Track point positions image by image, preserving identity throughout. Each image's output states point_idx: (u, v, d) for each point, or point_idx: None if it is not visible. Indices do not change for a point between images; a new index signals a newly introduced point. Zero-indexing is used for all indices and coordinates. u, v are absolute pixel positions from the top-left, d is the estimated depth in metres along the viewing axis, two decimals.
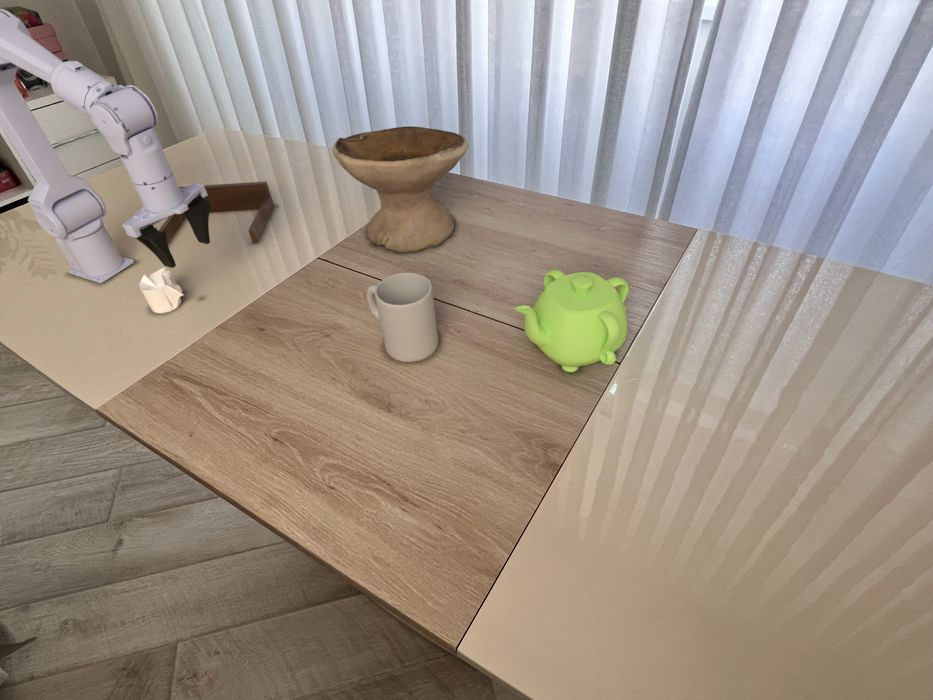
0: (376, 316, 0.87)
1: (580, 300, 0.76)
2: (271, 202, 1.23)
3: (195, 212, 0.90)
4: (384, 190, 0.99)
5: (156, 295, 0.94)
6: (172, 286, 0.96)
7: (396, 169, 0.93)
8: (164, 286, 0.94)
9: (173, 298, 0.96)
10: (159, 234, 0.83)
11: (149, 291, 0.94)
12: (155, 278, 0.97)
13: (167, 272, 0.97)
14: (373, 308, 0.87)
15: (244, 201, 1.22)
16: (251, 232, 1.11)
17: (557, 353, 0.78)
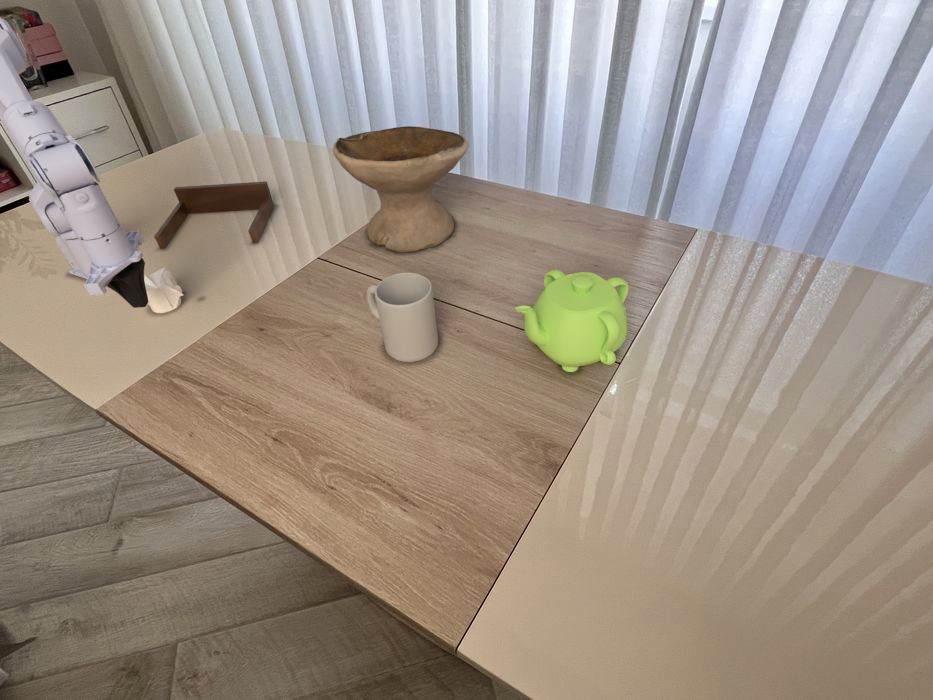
0: (376, 316, 0.87)
1: (580, 300, 0.76)
2: (271, 202, 1.23)
3: None
4: (384, 190, 0.99)
5: (156, 295, 0.94)
6: (172, 286, 0.96)
7: (396, 169, 0.93)
8: (164, 286, 0.94)
9: (173, 298, 0.96)
10: (134, 272, 0.82)
11: (149, 291, 0.94)
12: (155, 278, 0.97)
13: (167, 272, 0.97)
14: (373, 308, 0.87)
15: (244, 201, 1.22)
16: (251, 232, 1.11)
17: (557, 353, 0.78)
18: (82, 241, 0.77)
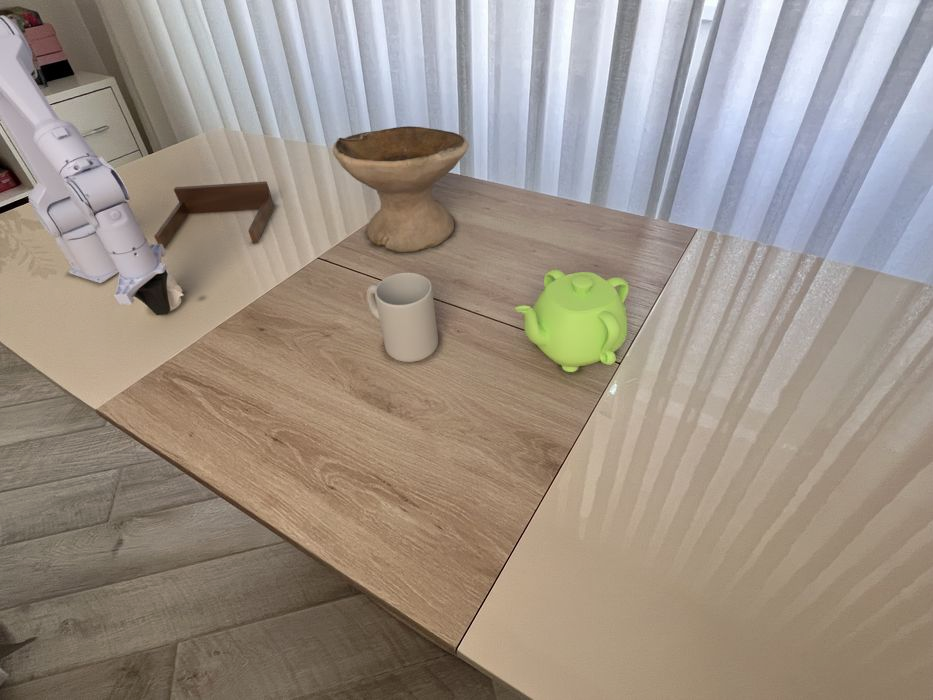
0: (376, 316, 0.87)
1: (580, 300, 0.76)
2: (271, 202, 1.23)
3: None
4: (384, 190, 0.99)
5: None
6: (172, 286, 0.96)
7: (396, 169, 0.93)
8: None
9: (173, 298, 0.96)
10: (159, 283, 0.89)
11: None
12: None
13: (167, 272, 0.97)
14: (373, 308, 0.87)
15: (244, 201, 1.22)
16: (251, 232, 1.11)
17: (557, 353, 0.78)
18: (112, 255, 0.84)
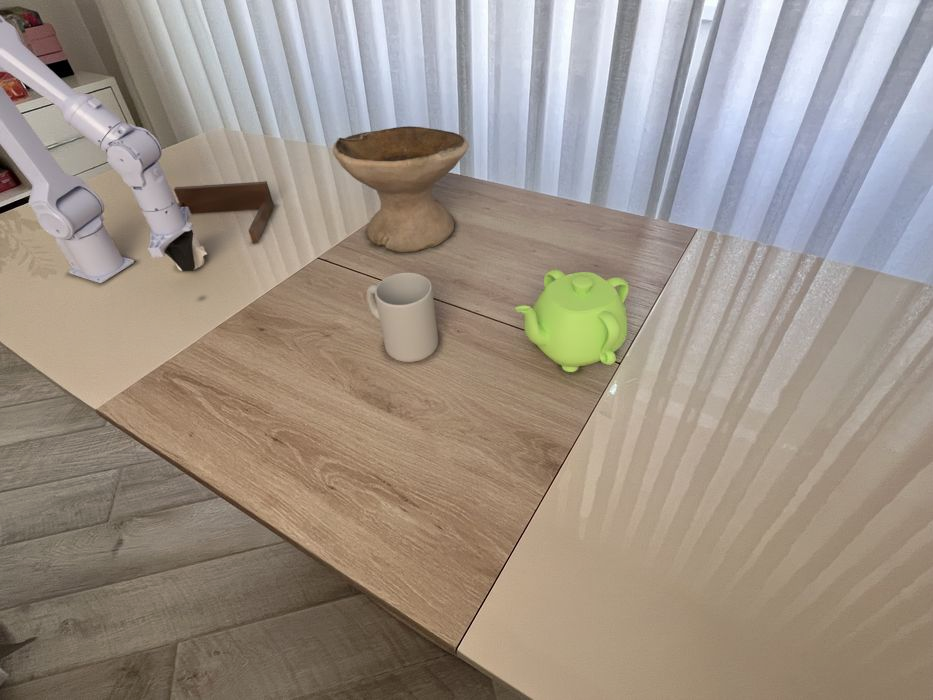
0: (376, 316, 0.87)
1: (580, 300, 0.76)
2: (271, 202, 1.23)
3: None
4: (384, 190, 0.99)
5: None
6: (196, 246, 1.06)
7: (396, 169, 0.93)
8: None
9: (197, 257, 1.05)
10: (186, 240, 0.99)
11: None
12: None
13: None
14: (373, 308, 0.87)
15: (244, 201, 1.22)
16: (251, 232, 1.11)
17: (557, 353, 0.78)
18: (146, 212, 0.93)
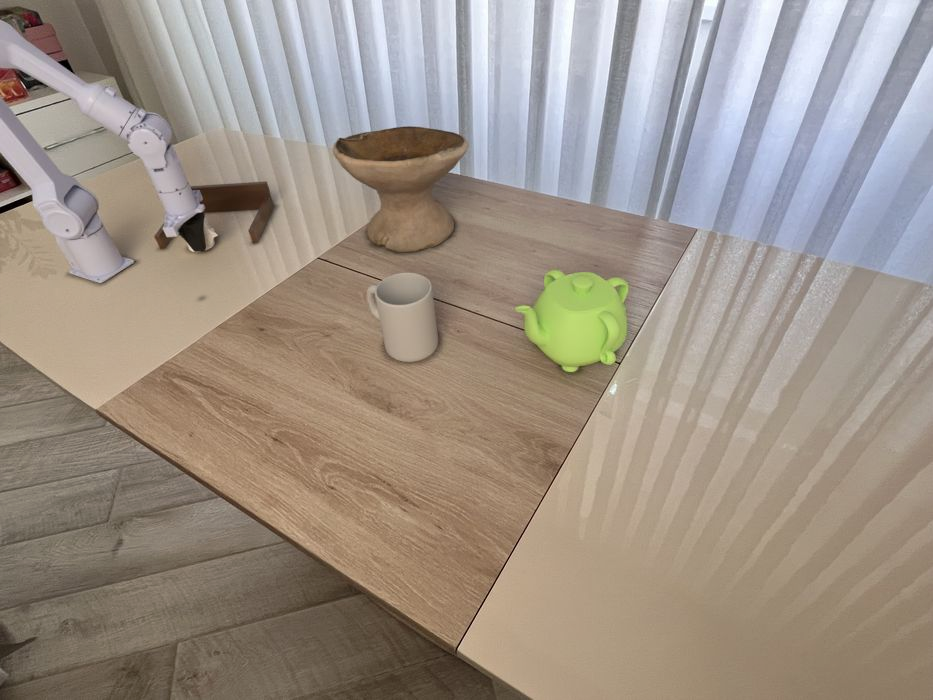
0: (376, 316, 0.87)
1: (580, 300, 0.76)
2: (271, 202, 1.23)
3: None
4: (384, 190, 0.99)
5: None
6: (207, 228, 1.11)
7: (396, 169, 0.93)
8: None
9: (208, 238, 1.10)
10: (198, 221, 1.04)
11: None
12: None
13: None
14: (373, 308, 0.87)
15: (244, 201, 1.22)
16: (251, 232, 1.11)
17: (557, 353, 0.78)
18: (161, 194, 0.98)
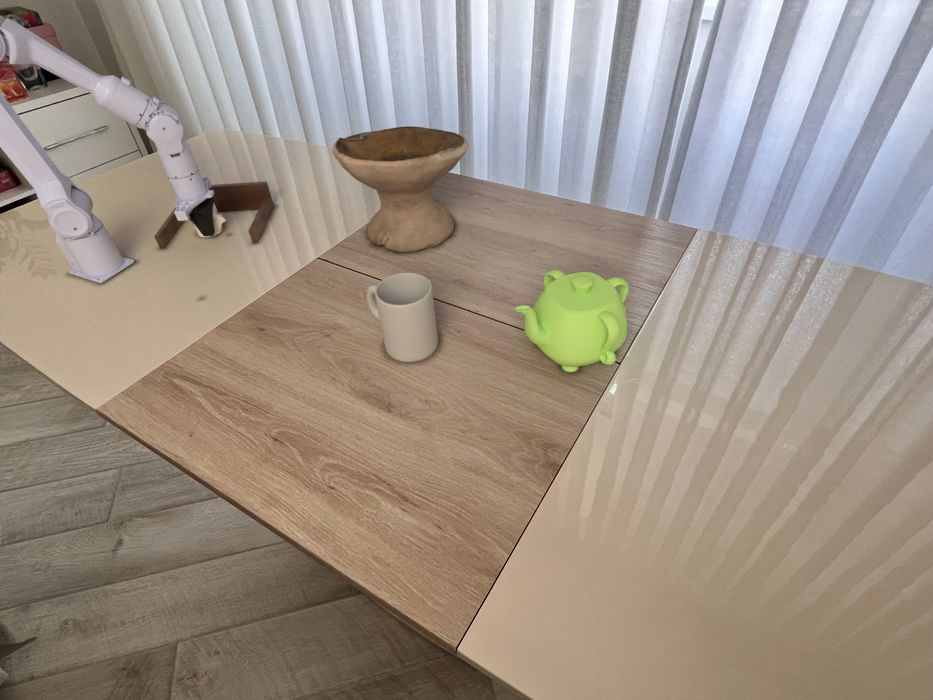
0: (376, 316, 0.87)
1: (580, 300, 0.76)
2: (271, 202, 1.23)
3: None
4: (384, 190, 0.99)
5: None
6: (216, 214, 1.15)
7: (396, 169, 0.93)
8: None
9: (217, 224, 1.15)
10: (208, 206, 1.08)
11: None
12: None
13: None
14: (373, 308, 0.87)
15: (244, 201, 1.22)
16: (251, 232, 1.11)
17: (557, 353, 0.78)
18: (172, 179, 1.03)
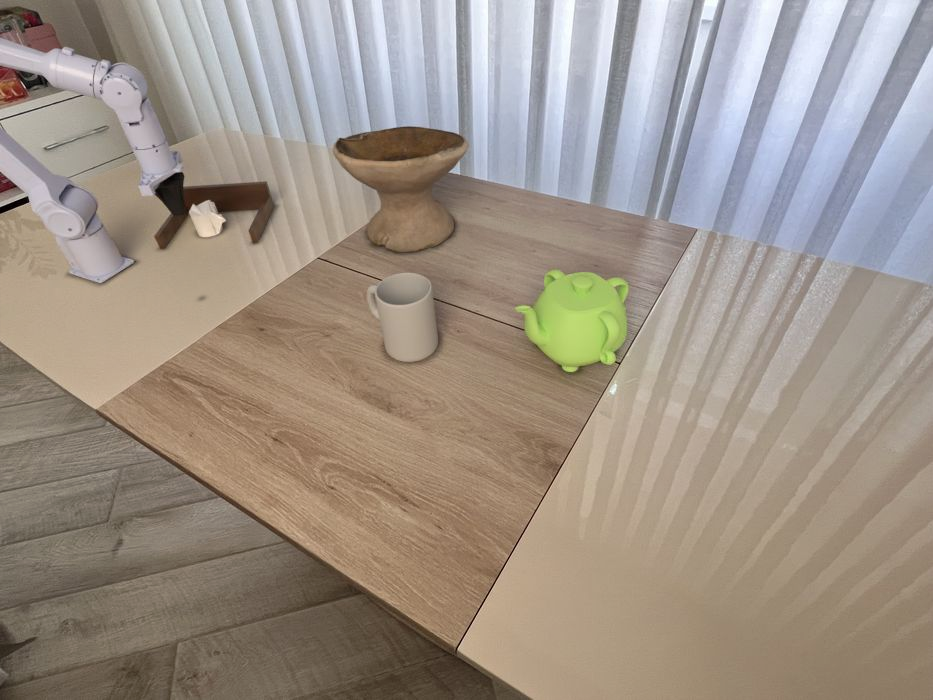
0: (376, 316, 0.87)
1: (580, 300, 0.76)
2: (271, 202, 1.23)
3: None
4: (384, 190, 0.99)
5: (203, 221, 1.13)
6: (216, 214, 1.15)
7: (396, 169, 0.93)
8: (210, 213, 1.13)
9: (217, 224, 1.15)
10: (177, 182, 0.99)
11: (198, 216, 1.12)
12: (201, 208, 1.16)
13: (211, 203, 1.16)
14: (373, 308, 0.87)
15: (244, 201, 1.22)
16: (251, 232, 1.11)
17: (557, 353, 0.78)
18: (136, 151, 0.93)
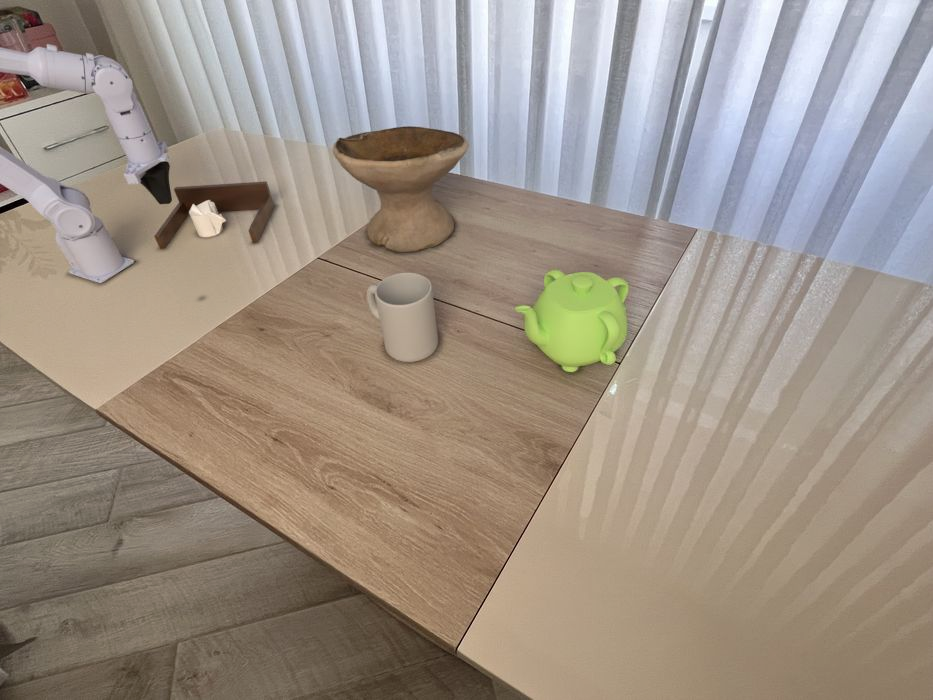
0: (376, 316, 0.87)
1: (580, 300, 0.76)
2: (271, 202, 1.23)
3: None
4: (384, 190, 0.99)
5: (203, 221, 1.13)
6: (216, 214, 1.15)
7: (396, 169, 0.93)
8: (210, 213, 1.13)
9: (217, 224, 1.15)
10: (162, 171, 1.02)
11: (198, 216, 1.12)
12: (201, 208, 1.16)
13: (211, 203, 1.16)
14: (373, 308, 0.87)
15: (244, 201, 1.22)
16: (251, 232, 1.11)
17: (557, 354, 0.78)
18: (122, 140, 0.97)
